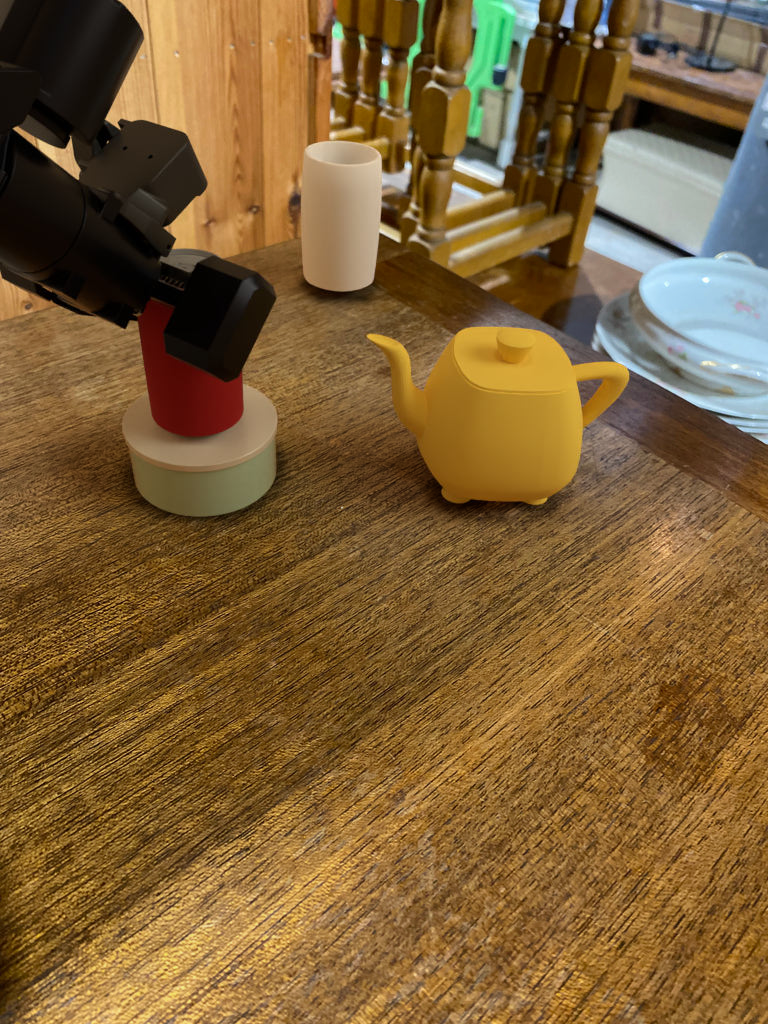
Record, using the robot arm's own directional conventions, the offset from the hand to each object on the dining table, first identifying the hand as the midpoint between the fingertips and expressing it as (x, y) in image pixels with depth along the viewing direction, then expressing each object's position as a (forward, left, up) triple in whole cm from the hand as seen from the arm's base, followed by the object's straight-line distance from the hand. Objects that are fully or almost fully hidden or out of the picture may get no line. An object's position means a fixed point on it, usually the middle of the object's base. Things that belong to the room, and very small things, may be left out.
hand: (205, 332), depth 55 cm
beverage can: (0, -1, -7) cm, 7 cm away
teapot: (+21, +6, -12) cm, 24 cm away
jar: (0, -1, -12) cm, 12 cm away
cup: (+1, +34, -12) cm, 36 cm away
